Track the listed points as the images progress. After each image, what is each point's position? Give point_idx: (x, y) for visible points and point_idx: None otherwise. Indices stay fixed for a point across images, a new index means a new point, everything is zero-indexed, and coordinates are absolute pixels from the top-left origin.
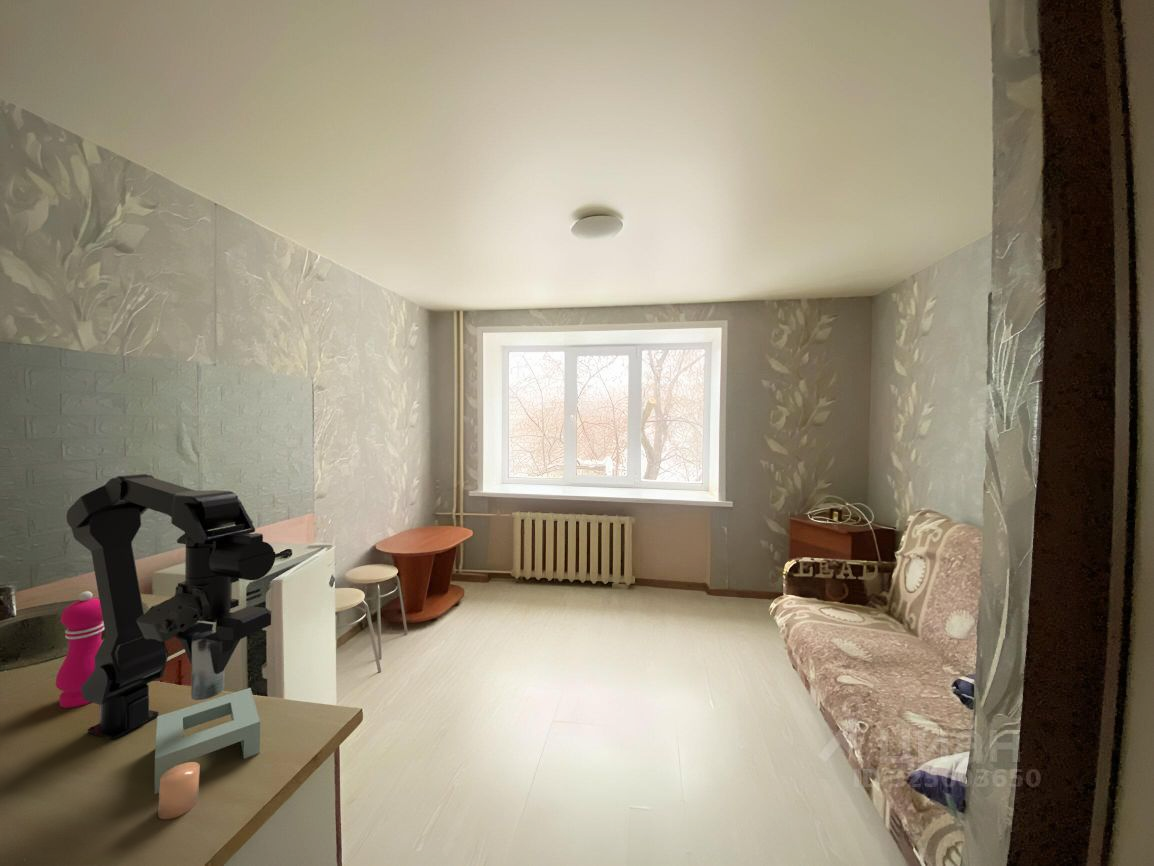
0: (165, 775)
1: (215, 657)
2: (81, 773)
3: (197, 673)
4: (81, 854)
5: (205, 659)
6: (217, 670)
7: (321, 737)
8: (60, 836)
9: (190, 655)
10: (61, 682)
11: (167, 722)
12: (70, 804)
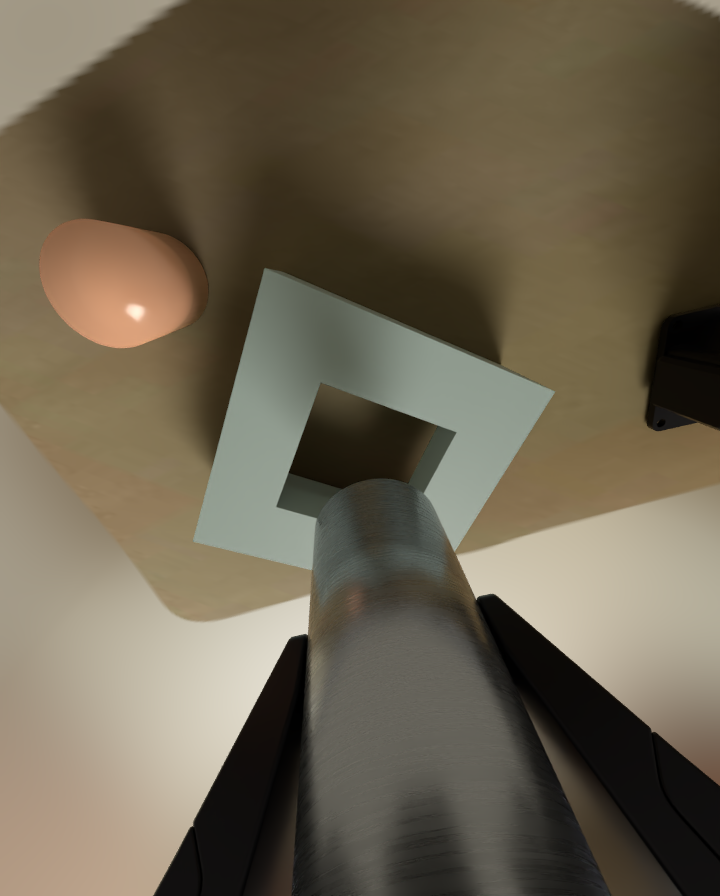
0: (127, 249)
1: (230, 796)
2: (596, 197)
3: (359, 594)
4: (166, 21)
5: (314, 739)
6: (279, 662)
7: (157, 575)
8: (324, 20)
9: (556, 696)
10: None
11: (478, 393)
12: (467, 111)
